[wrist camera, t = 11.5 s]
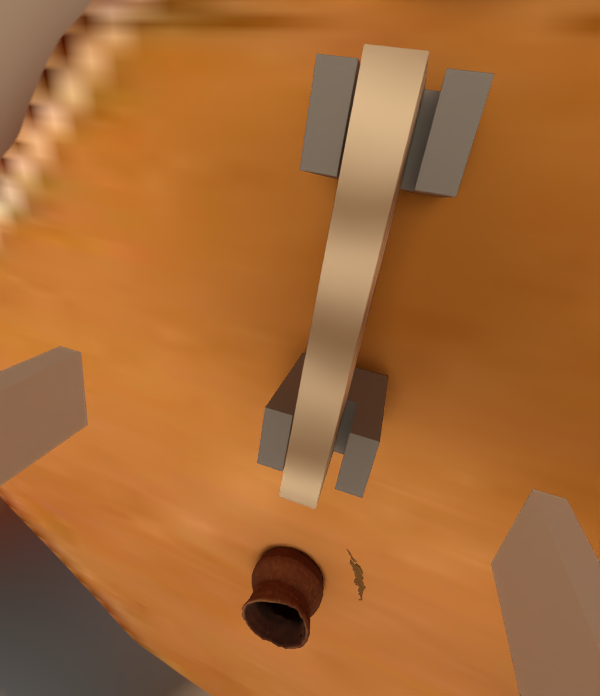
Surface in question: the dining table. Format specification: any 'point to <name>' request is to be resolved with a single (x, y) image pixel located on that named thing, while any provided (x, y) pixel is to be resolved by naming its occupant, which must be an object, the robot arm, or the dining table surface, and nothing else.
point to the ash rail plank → (353, 256)
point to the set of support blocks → (419, 177)
